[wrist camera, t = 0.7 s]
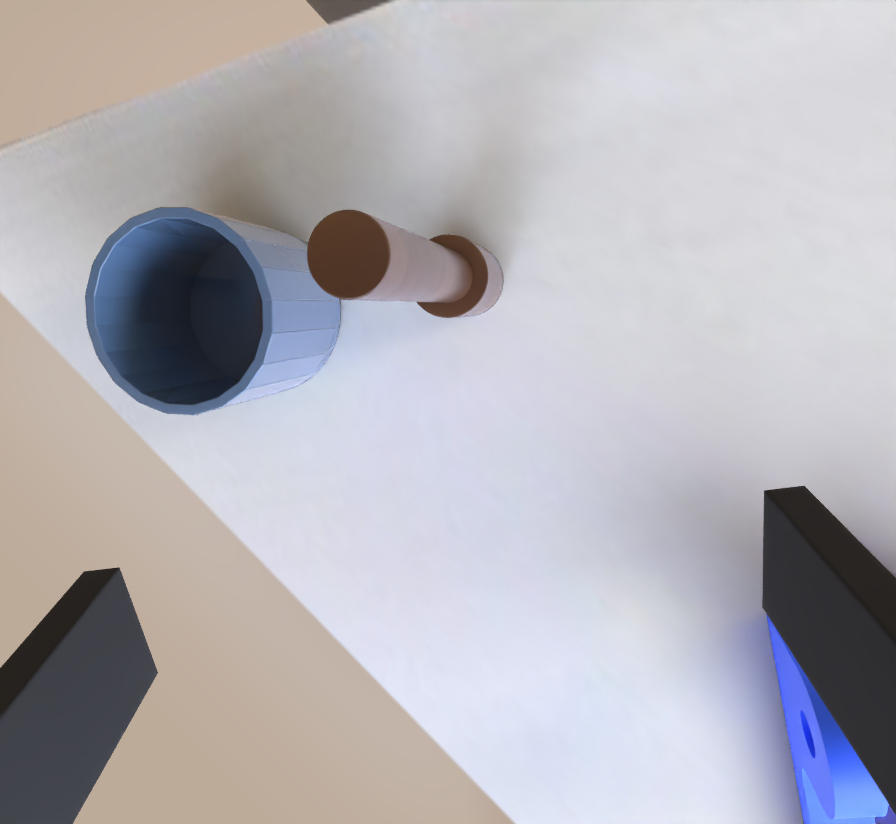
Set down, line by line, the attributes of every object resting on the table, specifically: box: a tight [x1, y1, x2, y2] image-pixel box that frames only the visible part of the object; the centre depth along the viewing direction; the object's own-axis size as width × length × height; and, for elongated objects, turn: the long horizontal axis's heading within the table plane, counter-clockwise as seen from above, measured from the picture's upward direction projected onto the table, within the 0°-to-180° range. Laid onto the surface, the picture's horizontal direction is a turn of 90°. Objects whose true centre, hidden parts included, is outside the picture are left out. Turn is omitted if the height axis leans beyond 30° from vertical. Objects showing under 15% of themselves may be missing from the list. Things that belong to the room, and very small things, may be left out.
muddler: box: [307, 210, 503, 318], centre depth 29 cm, size 4×4×20 cm
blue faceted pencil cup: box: [85, 207, 341, 415], centre depth 37 cm, size 9×9×9 cm
